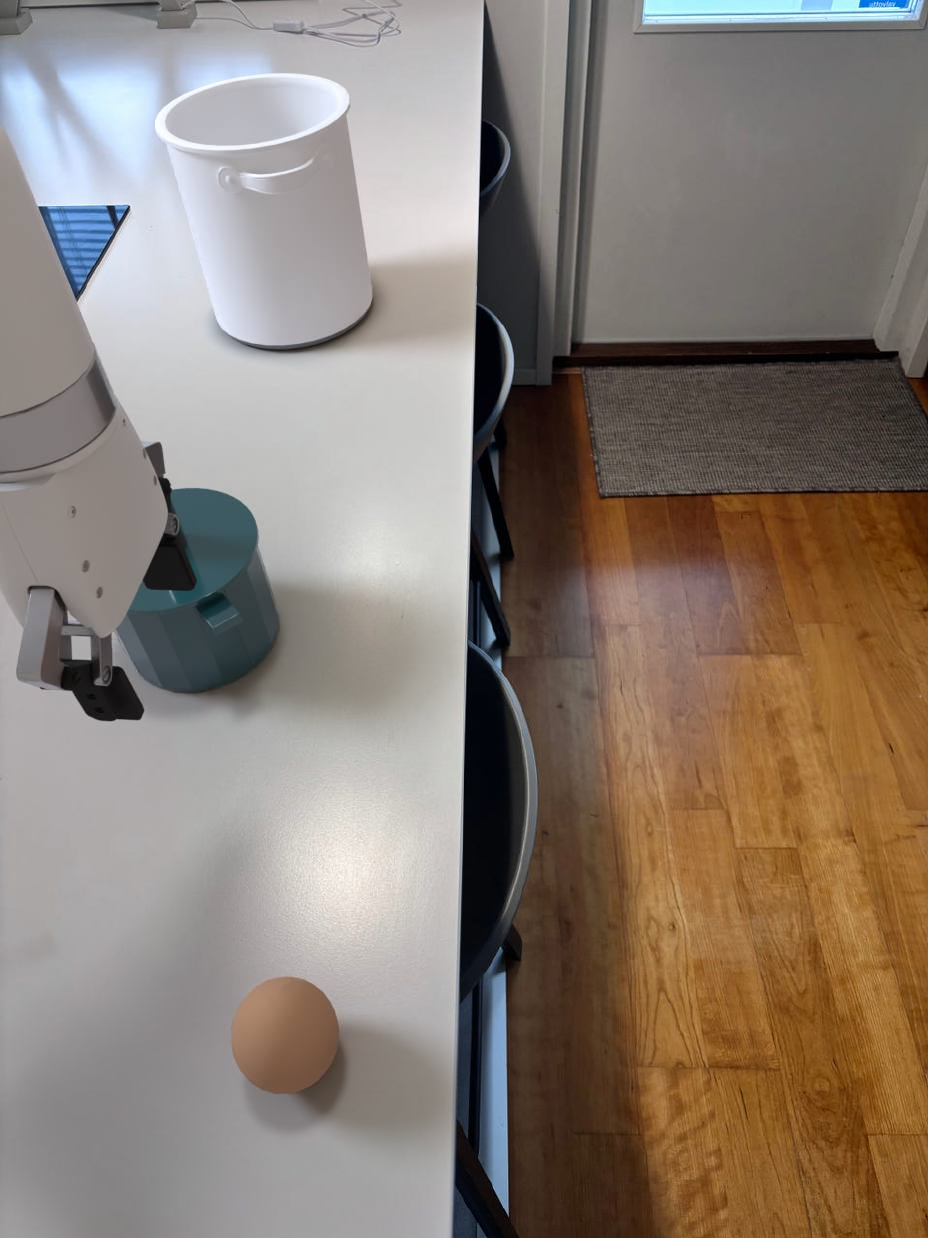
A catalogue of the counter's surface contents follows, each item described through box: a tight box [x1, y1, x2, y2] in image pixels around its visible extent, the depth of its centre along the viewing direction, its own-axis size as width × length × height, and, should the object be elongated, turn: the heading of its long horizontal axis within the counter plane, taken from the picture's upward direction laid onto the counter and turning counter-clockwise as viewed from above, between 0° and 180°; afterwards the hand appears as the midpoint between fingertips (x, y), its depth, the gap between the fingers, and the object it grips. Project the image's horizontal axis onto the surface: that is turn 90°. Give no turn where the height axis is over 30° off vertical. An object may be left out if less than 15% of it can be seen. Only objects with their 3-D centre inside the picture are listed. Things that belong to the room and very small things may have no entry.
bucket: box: [154, 72, 373, 350], centre depth 114 cm, size 26×22×24 cm
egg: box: [230, 976, 340, 1095], centre depth 58 cm, size 6×6×8 cm
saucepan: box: [113, 546, 280, 693], centre depth 82 cm, size 14×19×10 cm
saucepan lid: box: [126, 487, 260, 615], centre depth 76 cm, size 15×15×7 cm
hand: (146, 647), depth 55 cm, fingers open, 9 cm apart
